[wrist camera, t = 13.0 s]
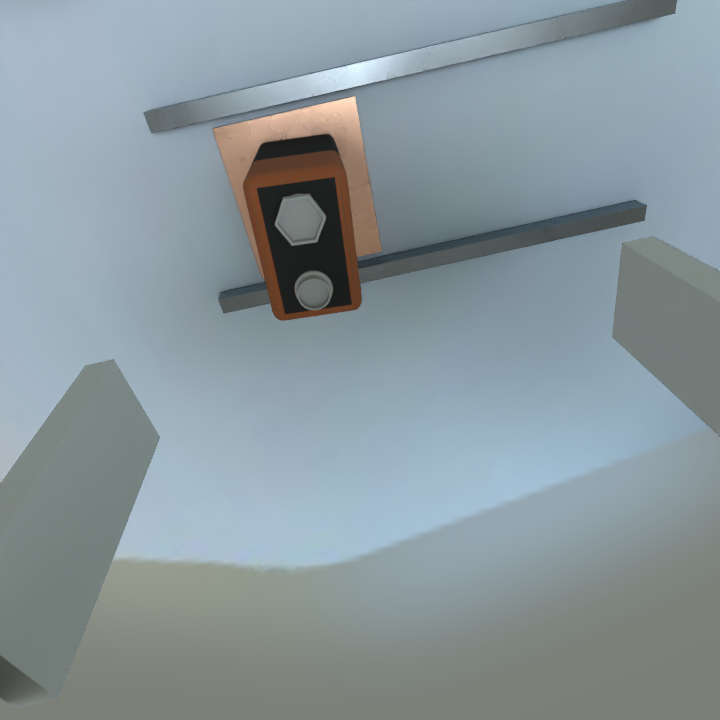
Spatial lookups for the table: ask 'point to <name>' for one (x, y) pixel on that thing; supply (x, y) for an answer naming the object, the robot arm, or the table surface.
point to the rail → (344, 127)
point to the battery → (303, 227)
